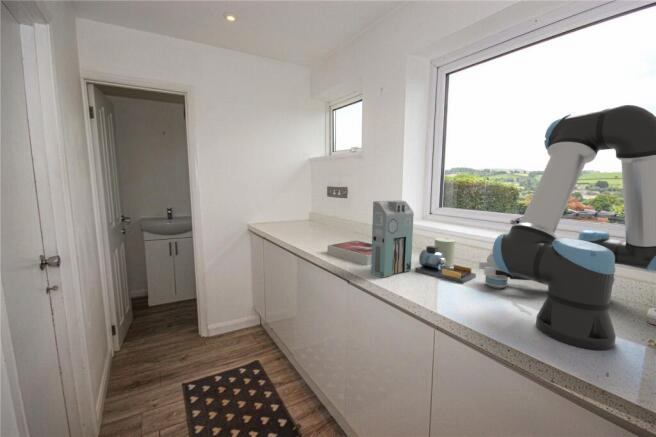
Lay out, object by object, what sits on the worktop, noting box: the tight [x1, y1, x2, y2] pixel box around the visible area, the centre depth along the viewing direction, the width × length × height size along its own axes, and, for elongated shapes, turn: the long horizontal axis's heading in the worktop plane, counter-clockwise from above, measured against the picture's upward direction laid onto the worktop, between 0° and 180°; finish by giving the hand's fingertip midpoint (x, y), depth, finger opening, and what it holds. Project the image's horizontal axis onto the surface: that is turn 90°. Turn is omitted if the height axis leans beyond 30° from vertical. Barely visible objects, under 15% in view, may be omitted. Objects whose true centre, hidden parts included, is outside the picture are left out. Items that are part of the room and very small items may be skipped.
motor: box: [414, 245, 477, 285], centre depth 118 cm, size 12×20×10 cm, turn 41°
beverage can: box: [484, 252, 509, 290], centre depth 105 cm, size 7×7×12 cm
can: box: [434, 237, 456, 267], centre depth 134 cm, size 9×9×12 cm
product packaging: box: [327, 240, 372, 266], centre depth 148 cm, size 22×28×5 cm
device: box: [370, 199, 415, 279], centre depth 119 cm, size 16×8×30 cm, turn 126°
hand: (482, 267), depth 106 cm, fingers closed on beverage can, 7 cm apart
